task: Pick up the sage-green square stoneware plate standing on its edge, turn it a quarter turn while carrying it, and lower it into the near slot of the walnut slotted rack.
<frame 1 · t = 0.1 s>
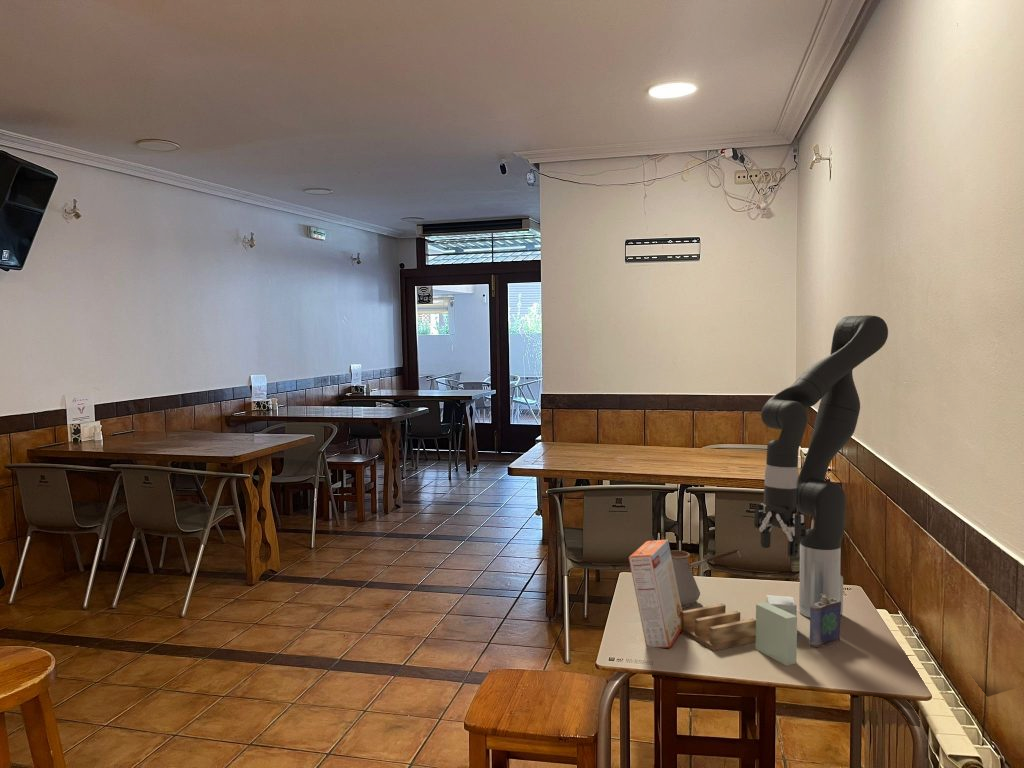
hand: (778, 552, 172), 17 cm above the table, tool pointing down, fingers open, 8 cm apart
product box: (780, 631, 169), on the table
plate: (775, 655, 155), on the table
flask: (824, 643, 162), on the table
cracker box: (665, 638, 166), on the table, touching rack
coffee pot: (696, 605, 186), on the table
rack: (717, 634, 166), on the table
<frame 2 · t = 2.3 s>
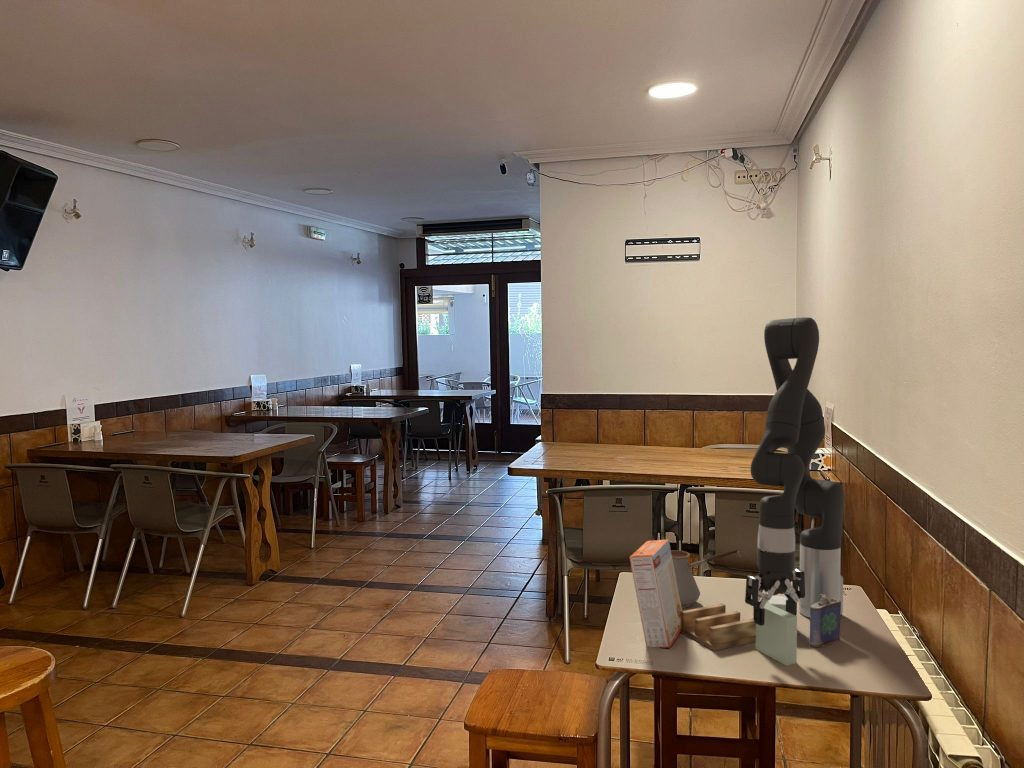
hand: (775, 621, 155), 8 cm above the table, tool pointing down, fingers open, 8 cm apart
nothing on the table moved.
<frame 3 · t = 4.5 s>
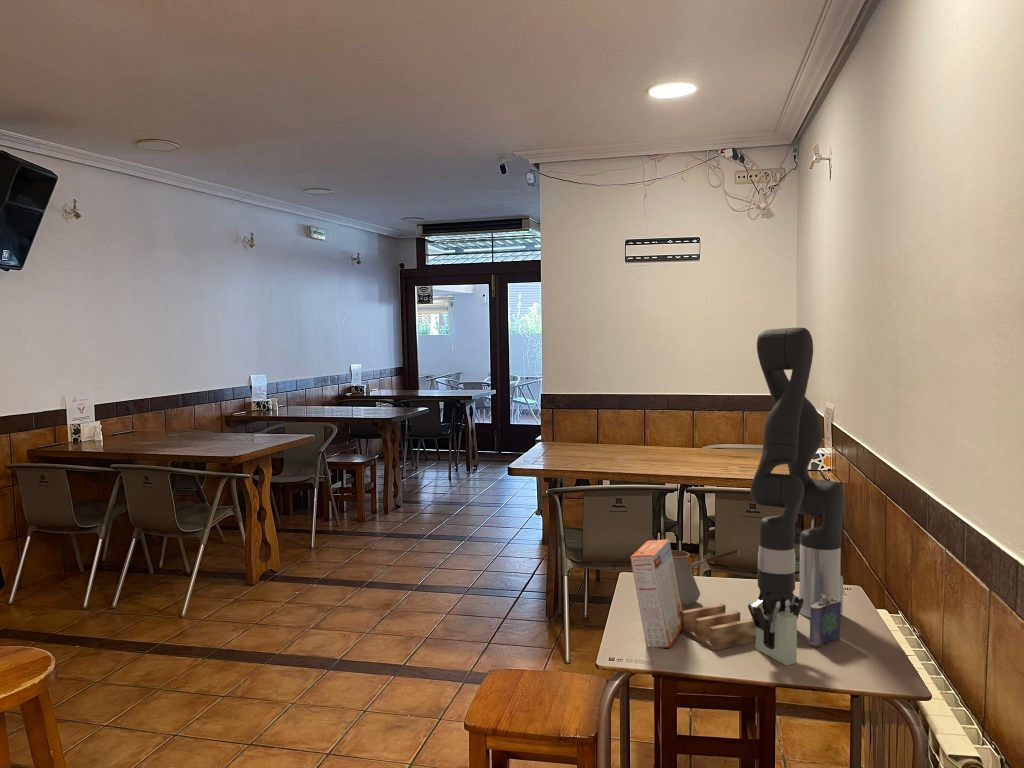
hand: (775, 646, 155), 2 cm above the table, tool pointing down, fingers closed on plate, 2 cm apart
plate: (775, 655, 155), on the table, touching gripper
everything else where it was.
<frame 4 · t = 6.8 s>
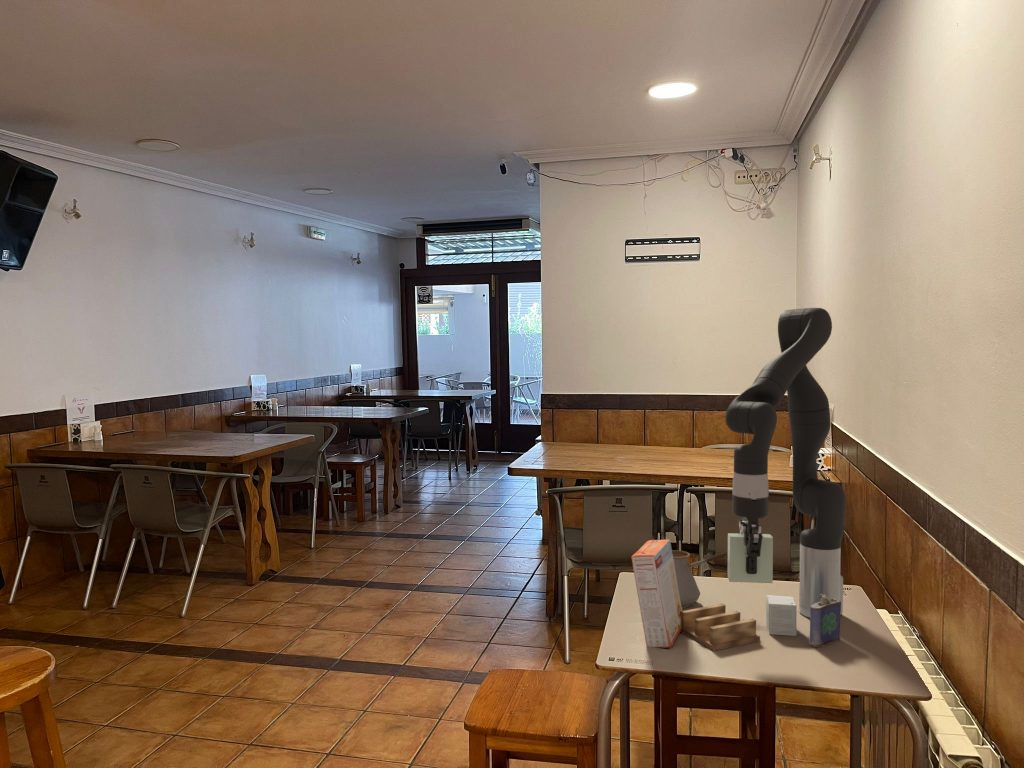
hand: (749, 570, 159), 17 cm above the table, tool pointing down, fingers closed on plate, 2 cm apart
plate: (749, 580, 159), point 15 cm above the table, touching gripper
everything else where it was.
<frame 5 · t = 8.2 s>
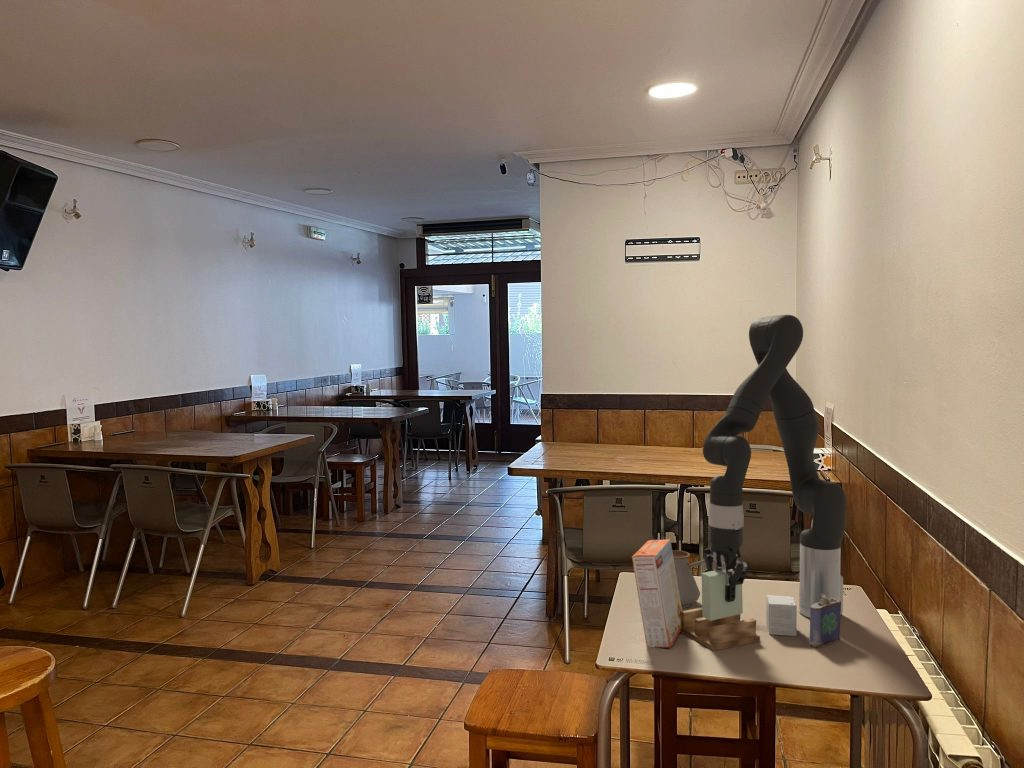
hand: (725, 598, 163), 9 cm above the table, tool pointing down, fingers closed on plate, 2 cm apart
plate: (722, 614, 163), point 6 cm above the table, touching gripper
everything else where it was.
when the fingers open (6 cm above the table, at t = 9.3 s): plate drops 1 cm, resting on rack.
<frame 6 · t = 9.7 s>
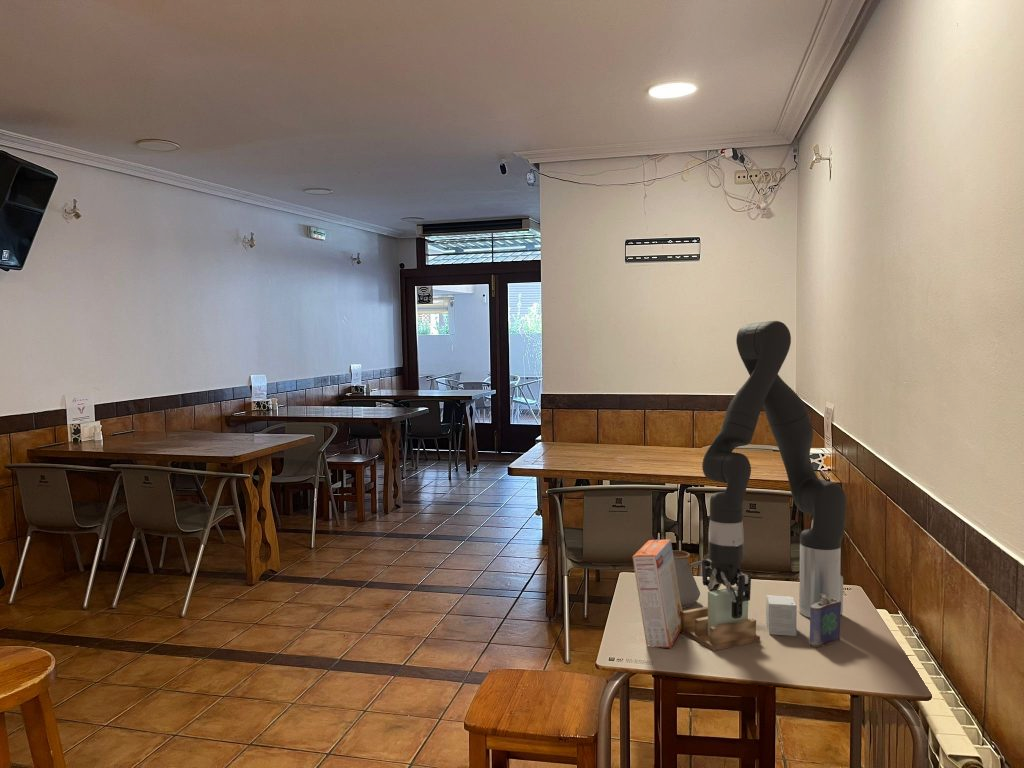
hand: (725, 611, 164), 6 cm above the table, tool pointing down, fingers open, 7 cm apart
plate: (727, 634, 164), point 1 cm above the table, touching rack
everything else where it was.
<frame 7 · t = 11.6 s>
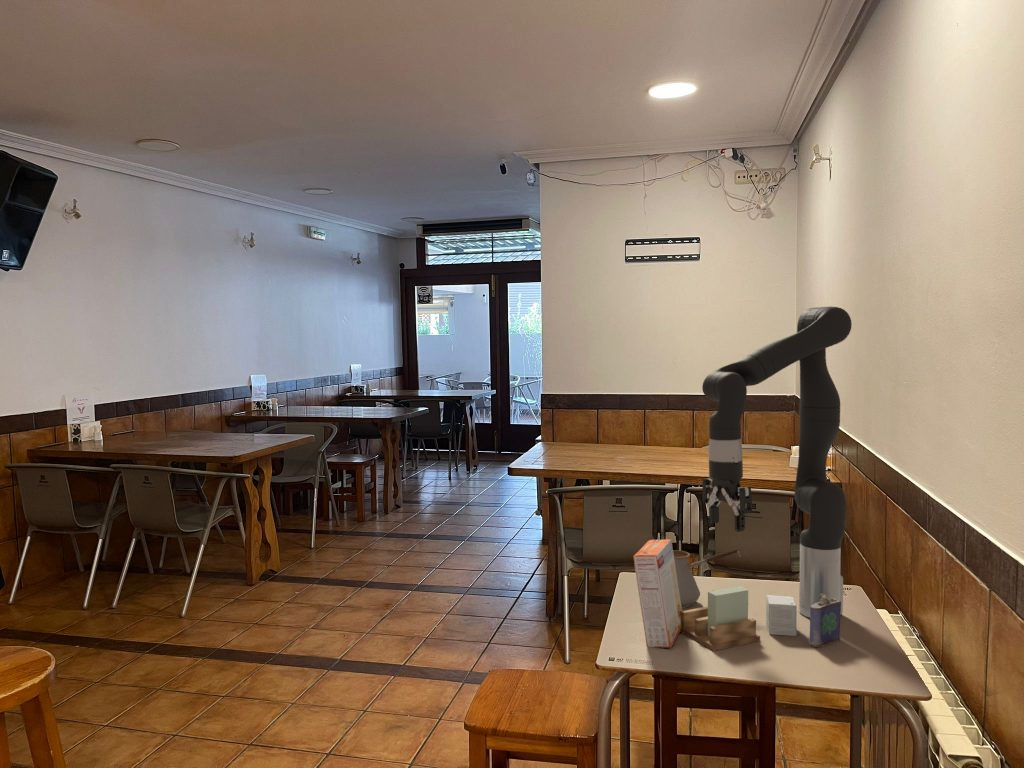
hand: (726, 526, 169), 24 cm above the table, tool pointing down, fingers open, 8 cm apart
nothing on the table moved.
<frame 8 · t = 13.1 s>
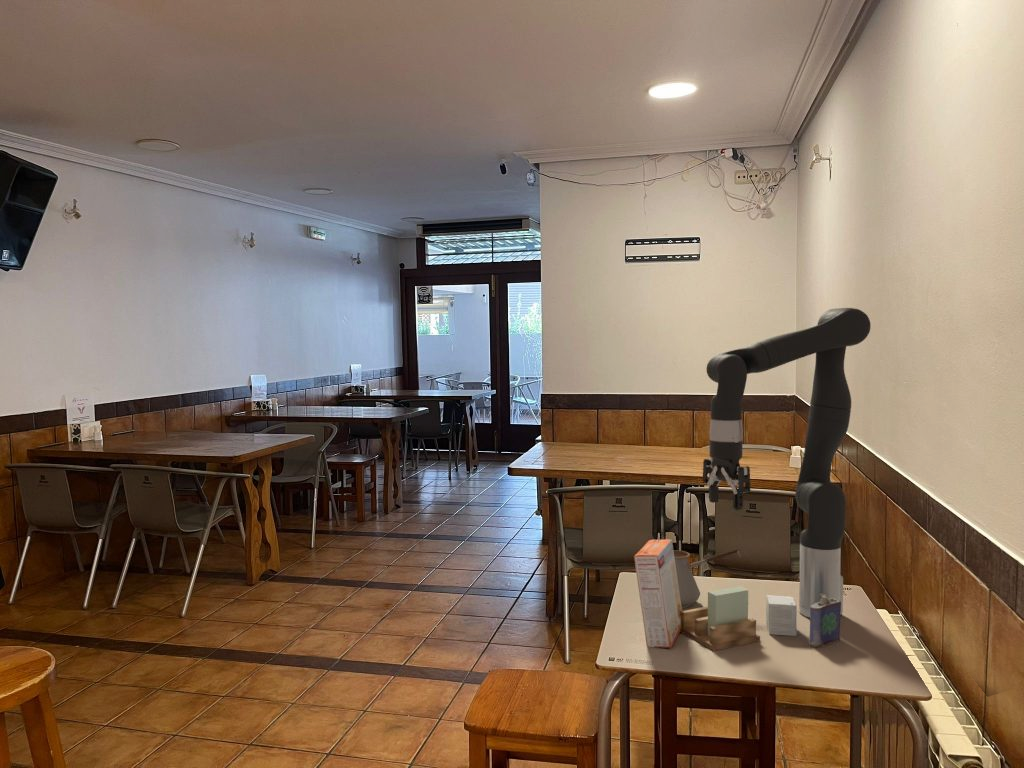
hand: (725, 505, 173), 28 cm above the table, tool pointing down, fingers open, 8 cm apart
nothing on the table moved.
at the end: plate inside the target area on the rack (0.7 cm from its centre), point 1.0 cm above the rack's base; plate tilted 0°; the gripper is holding nothing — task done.
